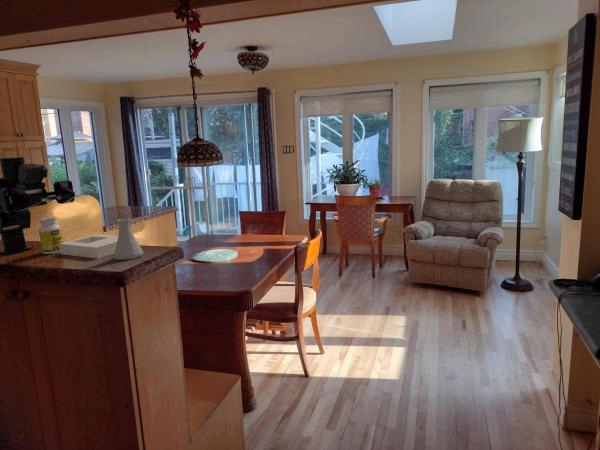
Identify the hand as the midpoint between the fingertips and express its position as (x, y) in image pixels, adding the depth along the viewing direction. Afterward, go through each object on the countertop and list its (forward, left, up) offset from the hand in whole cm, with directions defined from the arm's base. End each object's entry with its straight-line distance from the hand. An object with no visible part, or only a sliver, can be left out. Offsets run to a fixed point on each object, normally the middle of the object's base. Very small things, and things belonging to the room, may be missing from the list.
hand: (58, 197), depth 115 cm
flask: (+17, +6, -17) cm, 24 cm away
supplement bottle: (-11, +3, -17) cm, 20 cm away
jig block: (+2, +8, -16) cm, 18 cm away
